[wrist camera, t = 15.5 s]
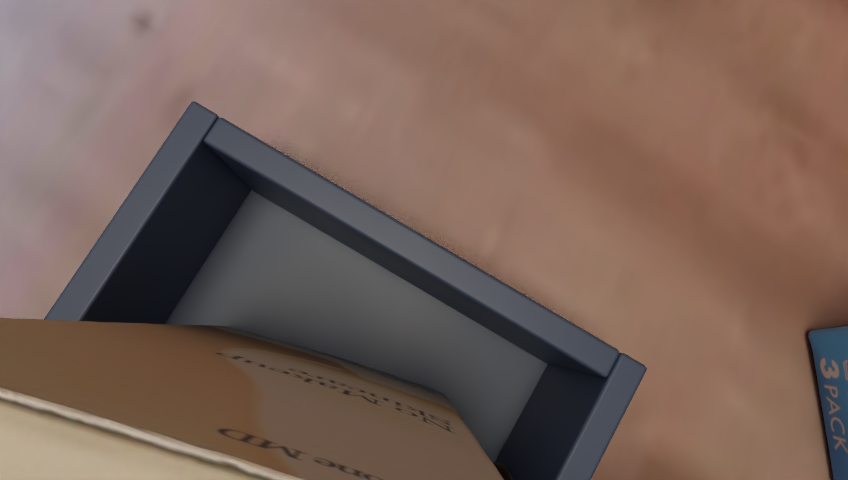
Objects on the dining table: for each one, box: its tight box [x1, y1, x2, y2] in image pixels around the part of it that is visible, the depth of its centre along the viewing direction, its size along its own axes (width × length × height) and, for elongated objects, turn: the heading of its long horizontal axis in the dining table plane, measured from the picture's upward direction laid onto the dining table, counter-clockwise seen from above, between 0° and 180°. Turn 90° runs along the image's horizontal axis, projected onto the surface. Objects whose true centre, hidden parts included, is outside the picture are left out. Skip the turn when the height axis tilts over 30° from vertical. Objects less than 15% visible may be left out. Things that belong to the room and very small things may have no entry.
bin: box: [44, 102, 647, 480], centre depth 14 cm, size 10×10×5 cm
